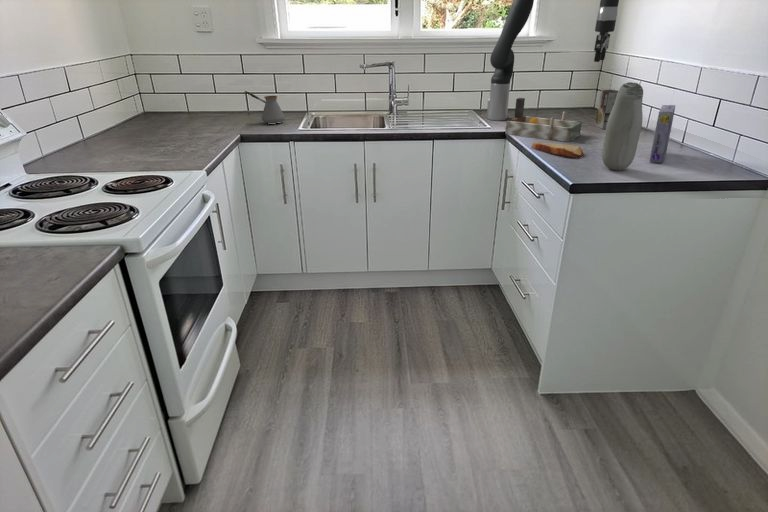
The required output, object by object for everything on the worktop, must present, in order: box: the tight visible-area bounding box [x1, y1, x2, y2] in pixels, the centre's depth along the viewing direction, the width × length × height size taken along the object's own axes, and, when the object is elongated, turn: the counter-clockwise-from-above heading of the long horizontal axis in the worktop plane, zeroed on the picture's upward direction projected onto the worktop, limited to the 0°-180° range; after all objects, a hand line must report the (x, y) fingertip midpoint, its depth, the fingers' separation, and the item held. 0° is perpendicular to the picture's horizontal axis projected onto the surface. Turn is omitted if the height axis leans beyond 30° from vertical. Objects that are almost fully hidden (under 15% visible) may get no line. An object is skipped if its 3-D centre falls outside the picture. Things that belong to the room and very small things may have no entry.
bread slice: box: [530, 141, 585, 159], centre depth 187 cm, size 18×18×4 cm
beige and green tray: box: [504, 111, 583, 143], centre depth 212 cm, size 28×17×9 cm, turn 54°
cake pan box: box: [649, 104, 676, 164], centre depth 175 cm, size 19×5×18 cm, turn 150°
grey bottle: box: [601, 81, 644, 171], centre depth 160 cm, size 10×10×28 cm
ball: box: [529, 116, 538, 124], centre depth 215 cm, size 4×4×4 cm
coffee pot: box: [242, 90, 286, 123], centre depth 244 cm, size 21×12×15 cm, turn 68°
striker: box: [510, 97, 527, 123], centre depth 217 cm, size 2×12×11 cm, turn 144°
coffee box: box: [594, 89, 618, 130], centre depth 222 cm, size 9×6×16 cm
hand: (599, 60), depth 210 cm, fingers open, 8 cm apart
